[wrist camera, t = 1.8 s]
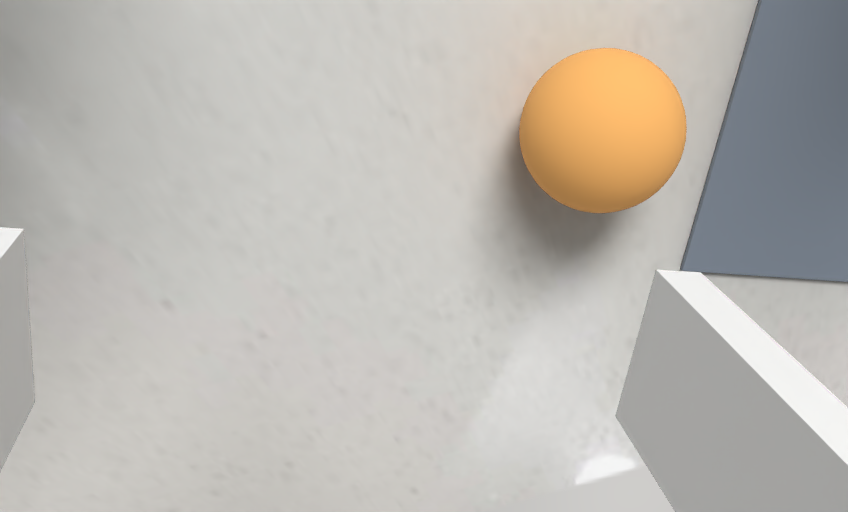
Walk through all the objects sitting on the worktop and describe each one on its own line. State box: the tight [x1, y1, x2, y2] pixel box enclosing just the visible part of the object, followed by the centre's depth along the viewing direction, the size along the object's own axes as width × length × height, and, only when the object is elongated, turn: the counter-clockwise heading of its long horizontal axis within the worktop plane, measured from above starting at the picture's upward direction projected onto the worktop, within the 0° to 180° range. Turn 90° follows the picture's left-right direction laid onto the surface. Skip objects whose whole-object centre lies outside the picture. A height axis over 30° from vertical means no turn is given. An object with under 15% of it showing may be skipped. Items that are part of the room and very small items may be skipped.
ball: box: [519, 48, 686, 213], centre depth 27 cm, size 6×6×6 cm
